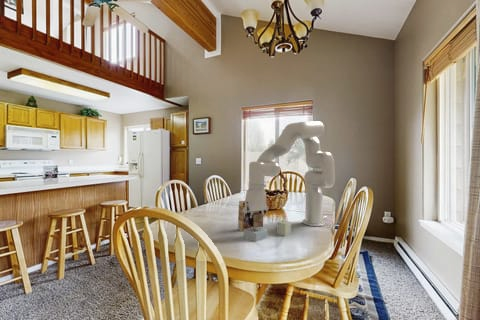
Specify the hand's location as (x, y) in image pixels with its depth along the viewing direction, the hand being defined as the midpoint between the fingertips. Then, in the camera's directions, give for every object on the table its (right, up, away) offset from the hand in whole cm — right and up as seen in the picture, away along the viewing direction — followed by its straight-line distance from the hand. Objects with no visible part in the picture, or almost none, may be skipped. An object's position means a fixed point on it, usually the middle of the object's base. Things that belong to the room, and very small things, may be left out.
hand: (255, 224), depth 111 cm
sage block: (+15, -7, +6) cm, 17 cm away
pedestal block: (0, -7, 0) cm, 7 cm away
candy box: (-4, -6, +13) cm, 15 cm away
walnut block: (0, -1, 0) cm, 1 cm away
